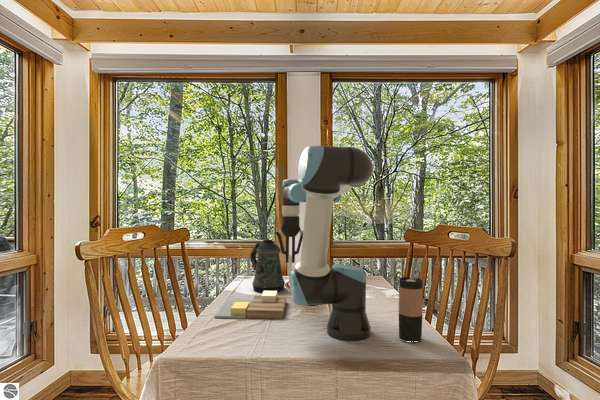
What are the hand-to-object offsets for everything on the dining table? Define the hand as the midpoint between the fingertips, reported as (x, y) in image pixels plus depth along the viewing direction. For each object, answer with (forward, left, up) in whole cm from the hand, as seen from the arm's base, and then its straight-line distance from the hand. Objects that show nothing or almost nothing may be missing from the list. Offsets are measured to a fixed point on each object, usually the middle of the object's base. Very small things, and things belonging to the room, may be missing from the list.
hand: (290, 270), depth 163 cm
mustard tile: (-11, +19, -15) cm, 27 cm away
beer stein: (+29, +14, -16) cm, 36 cm away
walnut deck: (-6, +9, -16) cm, 19 cm away
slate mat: (-6, +22, -16) cm, 28 cm away
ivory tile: (0, +9, -13) cm, 15 cm away
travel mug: (-36, -42, -16) cm, 57 cm away
